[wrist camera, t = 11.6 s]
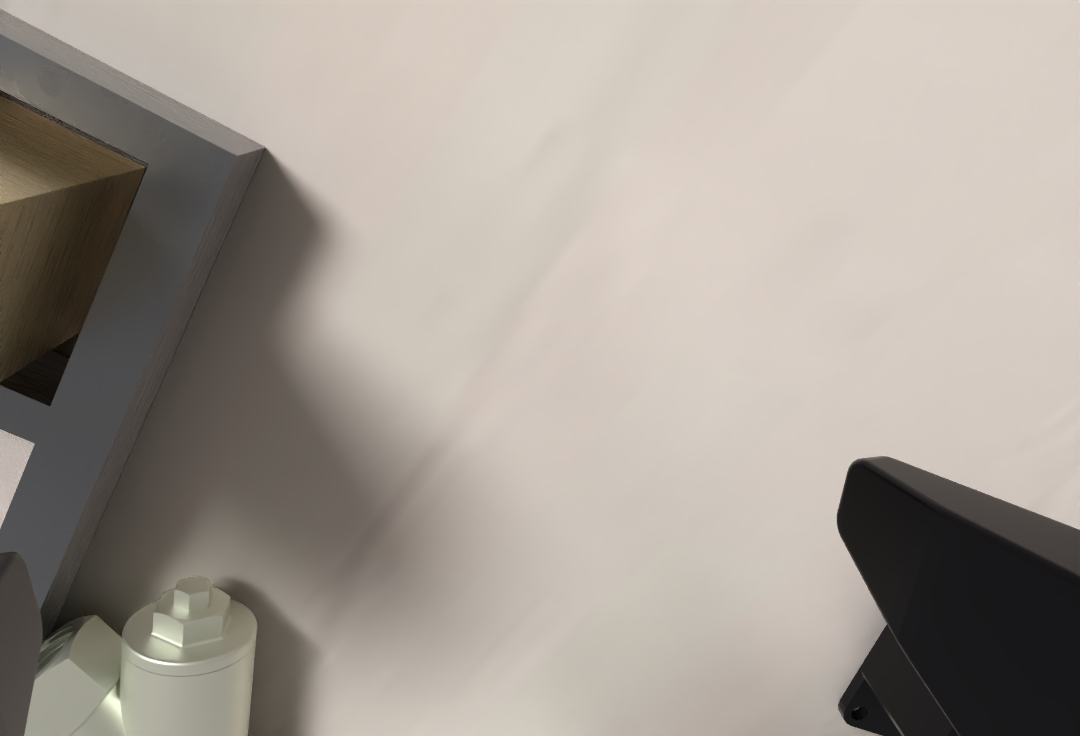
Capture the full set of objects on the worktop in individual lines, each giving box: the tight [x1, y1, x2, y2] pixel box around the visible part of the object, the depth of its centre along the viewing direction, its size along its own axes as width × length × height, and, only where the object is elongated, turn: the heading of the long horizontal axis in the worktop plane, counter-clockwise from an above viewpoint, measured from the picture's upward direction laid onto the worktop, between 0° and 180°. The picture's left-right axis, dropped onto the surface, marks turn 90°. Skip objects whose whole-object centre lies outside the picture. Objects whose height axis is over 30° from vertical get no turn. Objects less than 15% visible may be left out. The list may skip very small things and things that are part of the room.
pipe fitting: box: [24, 576, 257, 736], centre depth 23 cm, size 8×4×7 cm
